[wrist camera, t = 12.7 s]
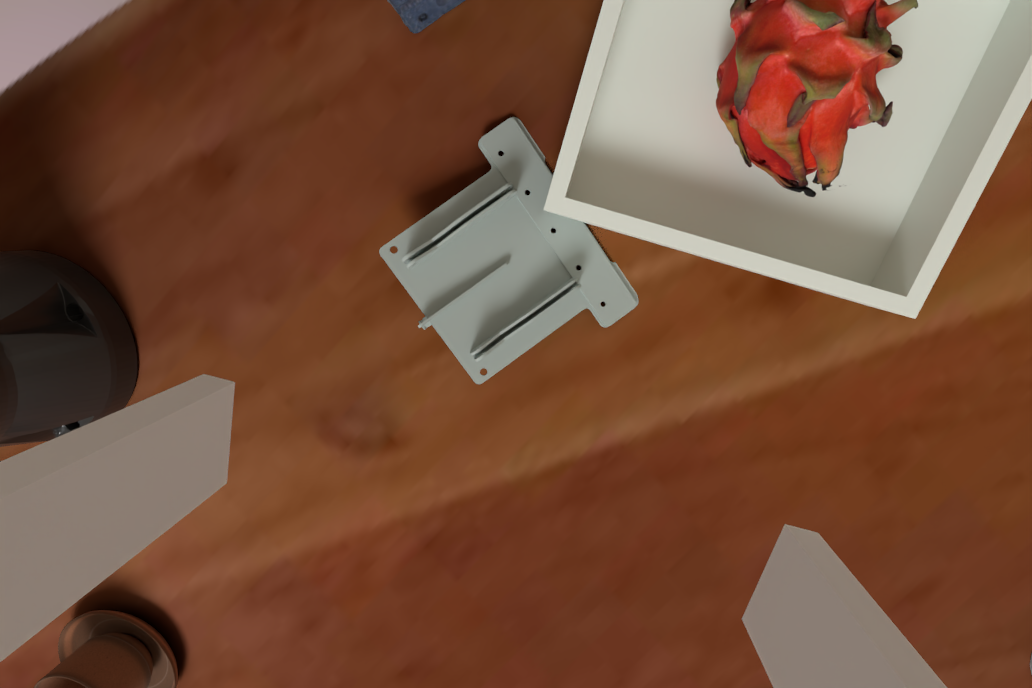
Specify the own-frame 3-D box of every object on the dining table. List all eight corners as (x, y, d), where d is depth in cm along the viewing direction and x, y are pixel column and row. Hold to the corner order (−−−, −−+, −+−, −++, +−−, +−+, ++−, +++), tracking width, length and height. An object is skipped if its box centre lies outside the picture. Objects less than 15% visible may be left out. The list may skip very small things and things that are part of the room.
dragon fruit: (773, -24, 28) (769, 186, 32) (671, -24, 24) (683, 213, 29) (958, -104, 21) (922, 179, 25) (853, -121, 17) (832, 214, 22)
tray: (547, 211, 32) (543, 209, 28) (649, -143, 27) (665, -214, 22) (867, 305, 31) (915, 318, 27) (1039, -41, 26) (1133, -95, 22)
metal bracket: (486, 423, 30) (339, 227, 28) (482, 404, 36) (359, 240, 34) (663, 293, 31) (532, 93, 29) (631, 295, 37) (520, 128, 35)
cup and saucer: (139, 714, 49) (80, 781, 43) (55, 631, 47) (-19, 689, 41) (214, 667, 46) (161, 732, 40) (127, 577, 45) (59, 631, 39)
